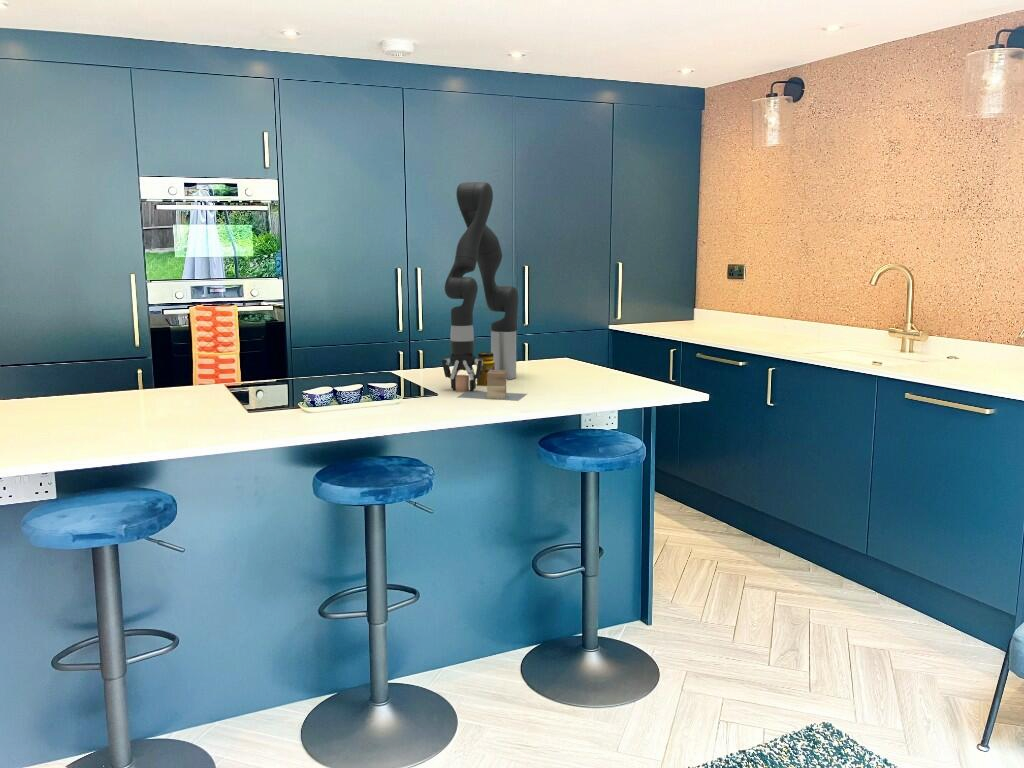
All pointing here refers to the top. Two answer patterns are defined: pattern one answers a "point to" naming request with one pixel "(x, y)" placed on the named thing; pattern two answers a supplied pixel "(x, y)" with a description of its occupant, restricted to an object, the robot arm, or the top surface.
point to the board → (484, 396)
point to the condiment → (485, 367)
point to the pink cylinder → (462, 383)
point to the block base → (496, 392)
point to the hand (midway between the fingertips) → (463, 390)
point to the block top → (496, 378)
